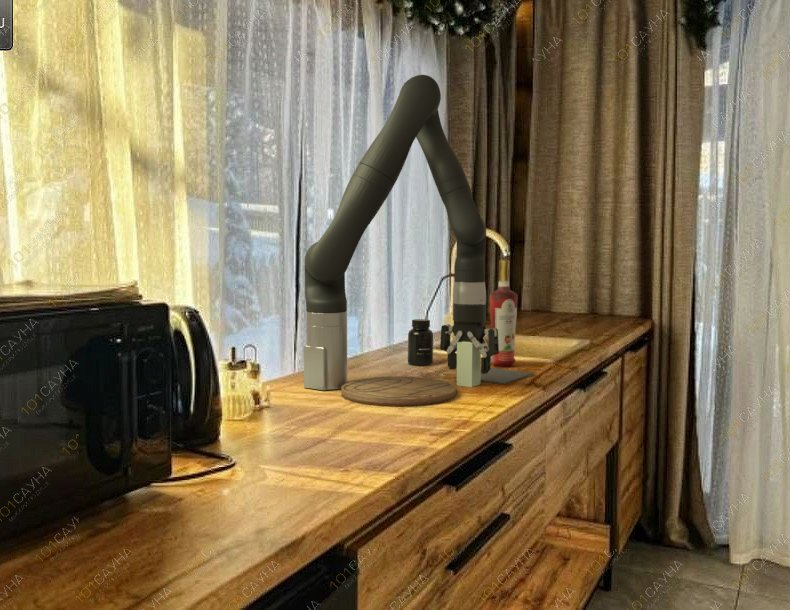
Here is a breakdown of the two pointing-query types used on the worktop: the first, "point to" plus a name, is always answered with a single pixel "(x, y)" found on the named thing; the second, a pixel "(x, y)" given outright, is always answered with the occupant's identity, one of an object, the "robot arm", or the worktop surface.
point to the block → (468, 364)
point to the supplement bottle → (420, 343)
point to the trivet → (398, 391)
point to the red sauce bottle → (504, 318)
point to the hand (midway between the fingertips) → (468, 371)
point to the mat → (503, 376)
